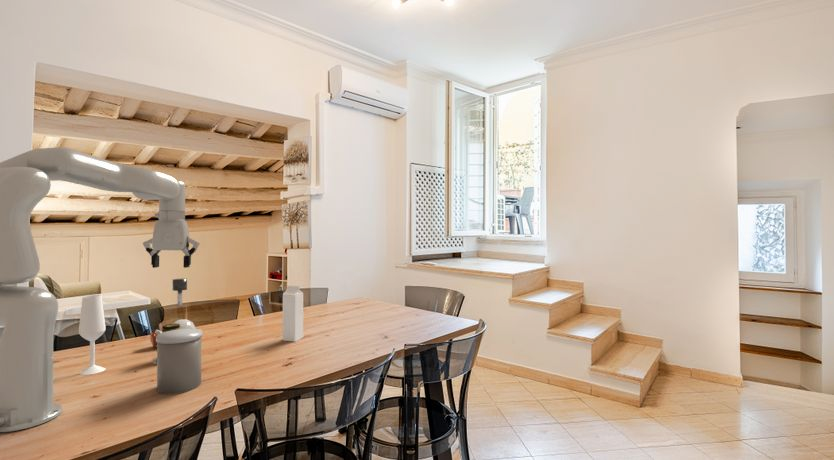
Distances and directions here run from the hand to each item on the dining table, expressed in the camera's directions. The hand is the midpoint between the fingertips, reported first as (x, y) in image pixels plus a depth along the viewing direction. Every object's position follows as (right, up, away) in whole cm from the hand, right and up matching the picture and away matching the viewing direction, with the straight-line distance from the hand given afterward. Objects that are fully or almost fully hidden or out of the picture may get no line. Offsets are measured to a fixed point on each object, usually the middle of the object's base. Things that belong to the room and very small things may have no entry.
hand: (171, 267), depth 135 cm
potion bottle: (-12, -33, +21) cm, 41 cm away
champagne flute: (-20, -33, -8) cm, 39 cm away
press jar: (+14, -33, -19) cm, 40 cm away
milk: (+32, -33, +30) cm, 54 cm away
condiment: (-3, -33, +4) cm, 33 cm away
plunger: (+14, -9, -19) cm, 26 cm away
